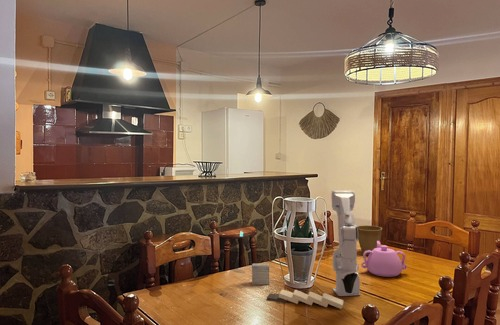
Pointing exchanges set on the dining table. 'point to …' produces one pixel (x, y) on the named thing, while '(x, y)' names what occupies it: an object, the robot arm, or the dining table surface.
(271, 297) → the domino
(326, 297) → the domino
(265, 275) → the medicine box
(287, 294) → the domino
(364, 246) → the plant pot
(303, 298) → the domino
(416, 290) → the dining table surface
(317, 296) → the domino
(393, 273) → the teapot
